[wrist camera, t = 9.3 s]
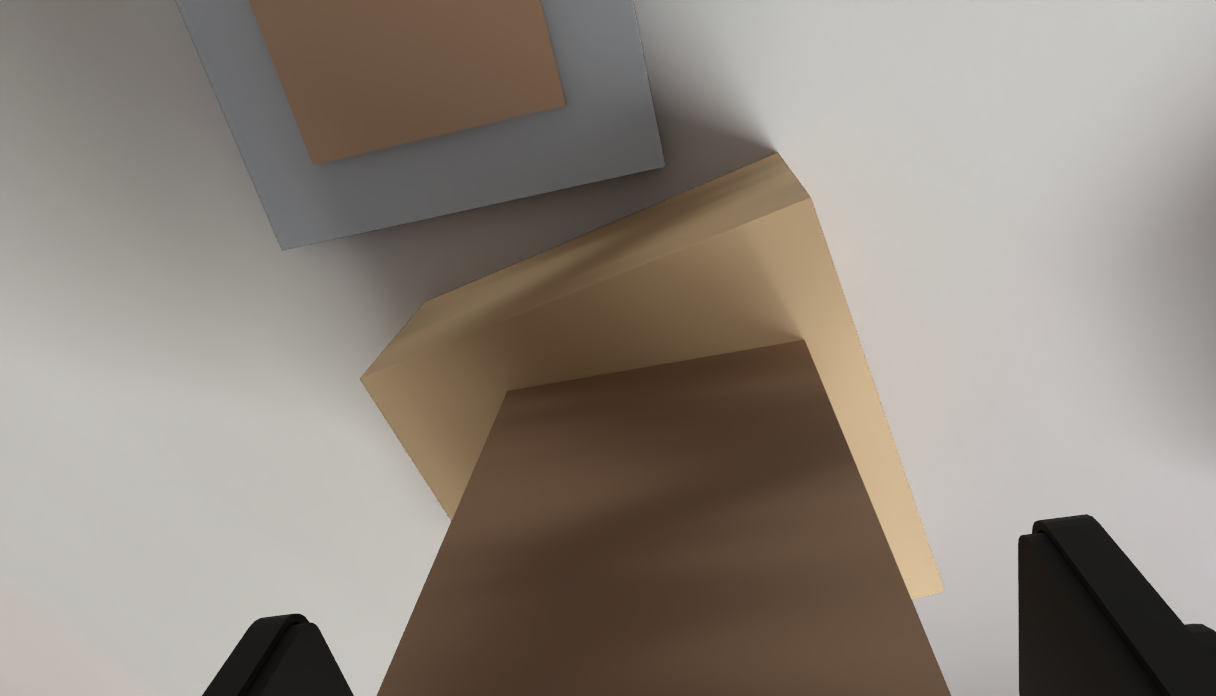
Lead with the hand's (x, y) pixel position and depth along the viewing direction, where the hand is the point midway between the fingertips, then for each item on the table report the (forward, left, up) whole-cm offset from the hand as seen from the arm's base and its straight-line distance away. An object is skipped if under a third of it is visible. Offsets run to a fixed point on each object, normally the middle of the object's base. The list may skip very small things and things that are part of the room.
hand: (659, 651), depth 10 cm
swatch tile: (+3, -9, -7) cm, 12 cm away
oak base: (0, 0, -8) cm, 8 cm away
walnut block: (0, 0, -4) cm, 4 cm away
